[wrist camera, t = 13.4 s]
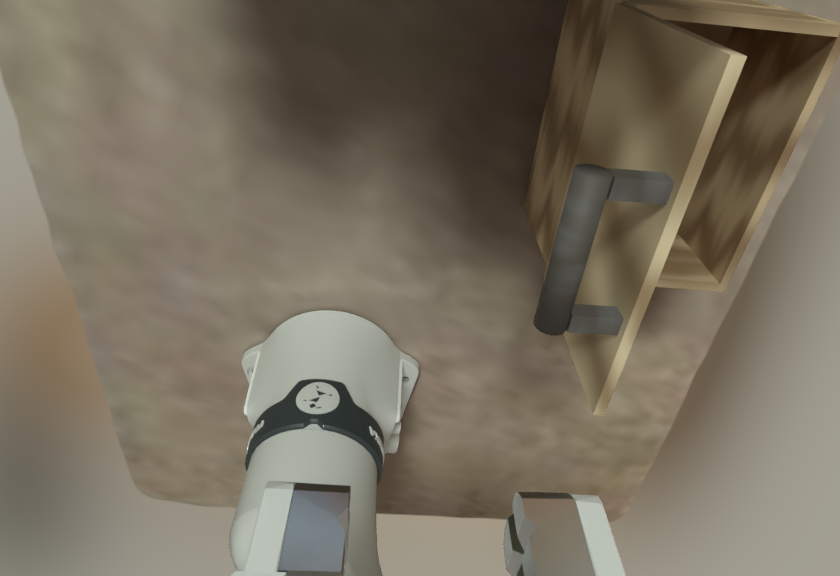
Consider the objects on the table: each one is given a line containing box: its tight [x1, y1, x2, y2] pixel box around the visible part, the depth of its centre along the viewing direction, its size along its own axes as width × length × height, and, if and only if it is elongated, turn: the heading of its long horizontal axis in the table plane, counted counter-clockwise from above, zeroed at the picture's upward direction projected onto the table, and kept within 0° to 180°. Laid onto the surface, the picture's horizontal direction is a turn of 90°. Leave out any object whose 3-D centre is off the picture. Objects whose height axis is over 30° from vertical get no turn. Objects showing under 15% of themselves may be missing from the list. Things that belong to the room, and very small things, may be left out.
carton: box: [524, 0, 840, 292], centre depth 41 cm, size 18×13×12 cm
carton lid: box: [534, 2, 747, 415], centre depth 30 cm, size 18×13×5 cm
